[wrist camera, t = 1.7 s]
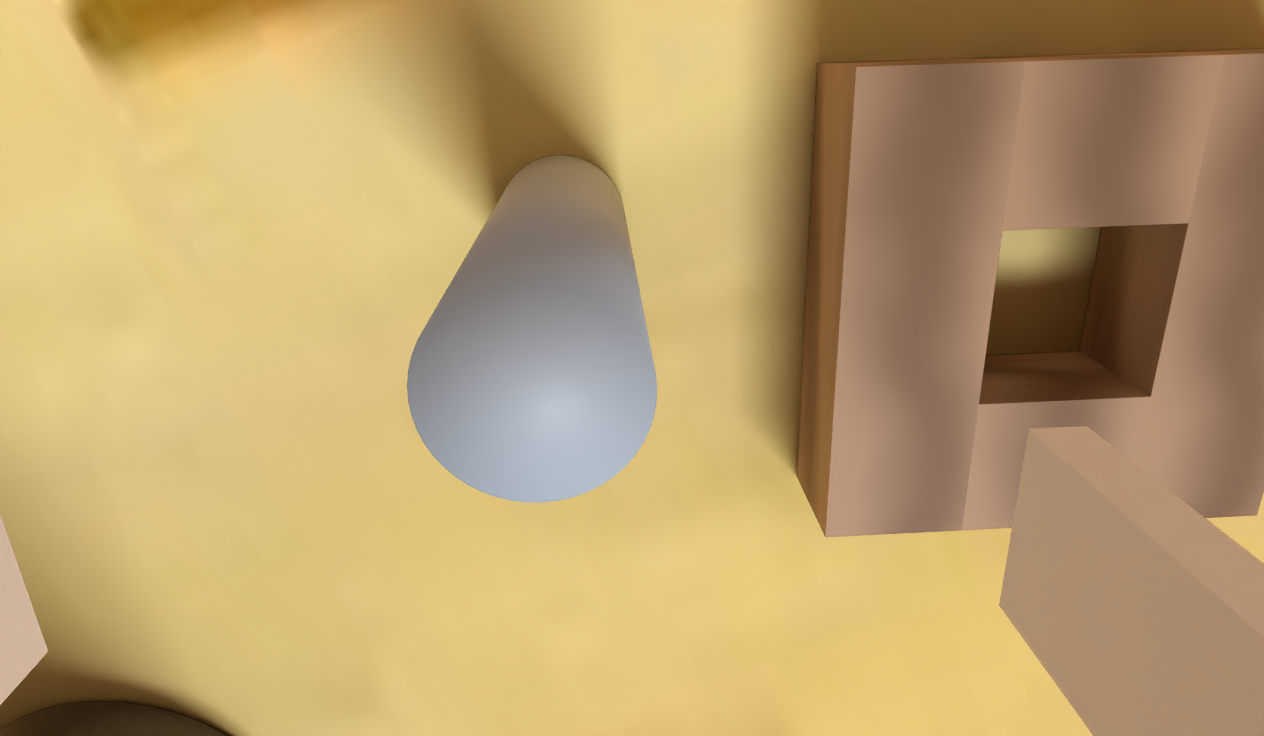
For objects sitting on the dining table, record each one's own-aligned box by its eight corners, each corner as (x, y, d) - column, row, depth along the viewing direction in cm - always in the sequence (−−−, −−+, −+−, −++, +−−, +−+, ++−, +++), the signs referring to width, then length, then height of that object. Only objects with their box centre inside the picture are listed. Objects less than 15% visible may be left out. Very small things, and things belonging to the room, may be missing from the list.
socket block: (796, 476, 34) (825, 537, 30) (817, 63, 28) (856, 67, 24) (1176, 458, 35) (1256, 515, 31) (1273, 48, 29) (1389, 49, 25)
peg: (505, 282, 31) (423, 508, 16) (493, 157, 29) (391, 279, 14) (626, 277, 31) (659, 496, 16) (622, 152, 29) (654, 268, 14)
